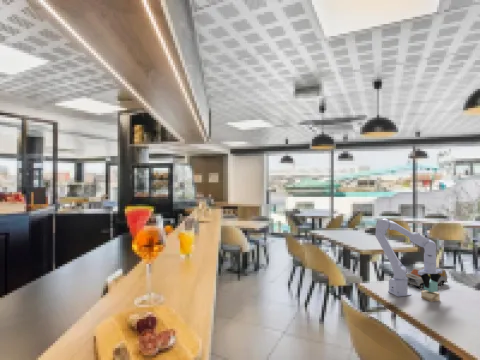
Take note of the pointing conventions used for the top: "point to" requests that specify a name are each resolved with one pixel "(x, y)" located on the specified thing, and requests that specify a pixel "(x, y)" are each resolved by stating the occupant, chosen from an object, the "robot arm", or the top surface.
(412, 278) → the toy car
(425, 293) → the beech block
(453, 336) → the top surface
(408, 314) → the top surface
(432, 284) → the teal block
